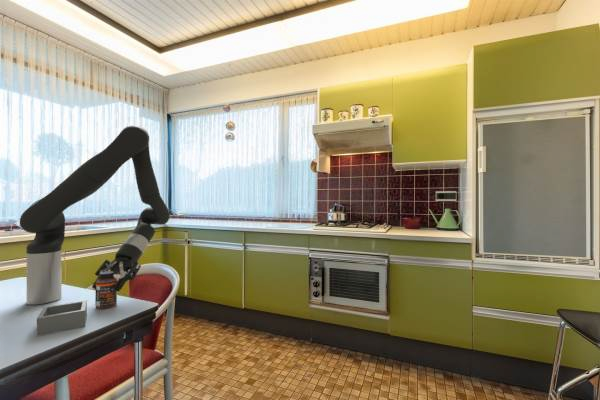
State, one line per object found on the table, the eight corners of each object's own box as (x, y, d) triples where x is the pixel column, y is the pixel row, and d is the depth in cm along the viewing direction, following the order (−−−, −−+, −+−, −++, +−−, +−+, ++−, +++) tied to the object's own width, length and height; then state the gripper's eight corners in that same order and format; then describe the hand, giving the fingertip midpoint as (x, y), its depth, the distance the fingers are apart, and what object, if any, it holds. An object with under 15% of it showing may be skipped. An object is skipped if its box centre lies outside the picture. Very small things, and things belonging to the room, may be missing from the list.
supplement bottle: (97, 311, 90) (97, 275, 91) (93, 307, 95) (93, 272, 95) (119, 306, 95) (119, 272, 95) (114, 302, 99) (114, 269, 99)
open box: (43, 322, 82) (43, 307, 82) (86, 314, 88) (86, 300, 88) (36, 336, 74) (36, 318, 74) (85, 326, 80) (85, 310, 80)
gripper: (110, 242, 105) (79, 282, 93) (143, 243, 101) (115, 285, 90) (122, 254, 110) (95, 293, 98) (154, 255, 106) (129, 296, 95)
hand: (105, 289), depth 94 cm, fingers open, 8 cm apart
